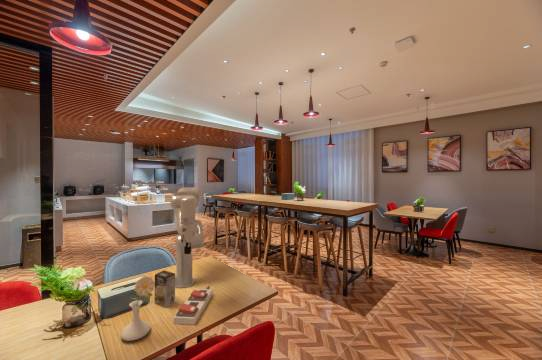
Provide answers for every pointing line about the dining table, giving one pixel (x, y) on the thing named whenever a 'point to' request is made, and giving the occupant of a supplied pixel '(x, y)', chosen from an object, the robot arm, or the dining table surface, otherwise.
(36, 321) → the dining table surface
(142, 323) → the flower in vase
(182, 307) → the near rocker
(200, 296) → the far rocker
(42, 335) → the dining table surface
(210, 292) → the power strip
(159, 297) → the coffee box
